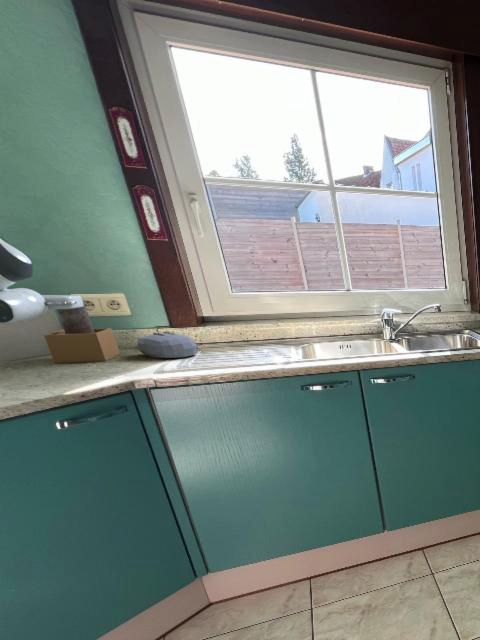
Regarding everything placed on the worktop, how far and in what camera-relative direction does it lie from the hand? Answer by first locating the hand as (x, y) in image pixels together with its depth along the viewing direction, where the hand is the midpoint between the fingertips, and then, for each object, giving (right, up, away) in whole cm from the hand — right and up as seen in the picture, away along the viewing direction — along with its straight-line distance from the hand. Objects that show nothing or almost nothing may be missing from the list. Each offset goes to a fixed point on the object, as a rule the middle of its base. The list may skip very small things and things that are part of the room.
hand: (48, 299), depth 156 cm
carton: (-6, -16, +18) cm, 24 cm away
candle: (-6, -15, +18) cm, 24 cm away
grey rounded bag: (+17, -13, +26) cm, 34 cm away
